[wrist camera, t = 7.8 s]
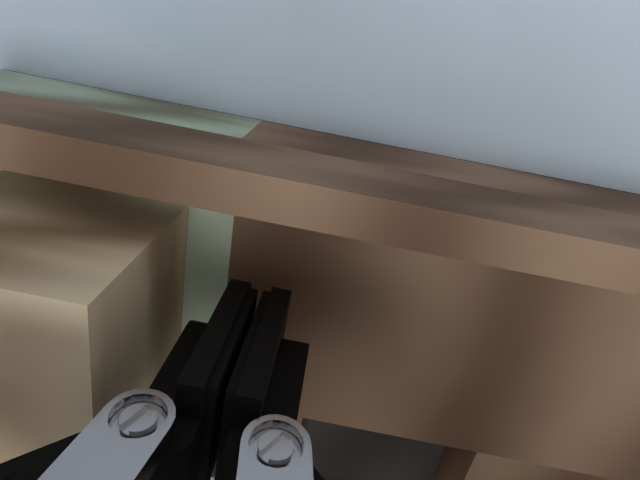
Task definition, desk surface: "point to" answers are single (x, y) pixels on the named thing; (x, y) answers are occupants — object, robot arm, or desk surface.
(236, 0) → the desk surface
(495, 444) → the wooden shelf
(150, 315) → the maple block
